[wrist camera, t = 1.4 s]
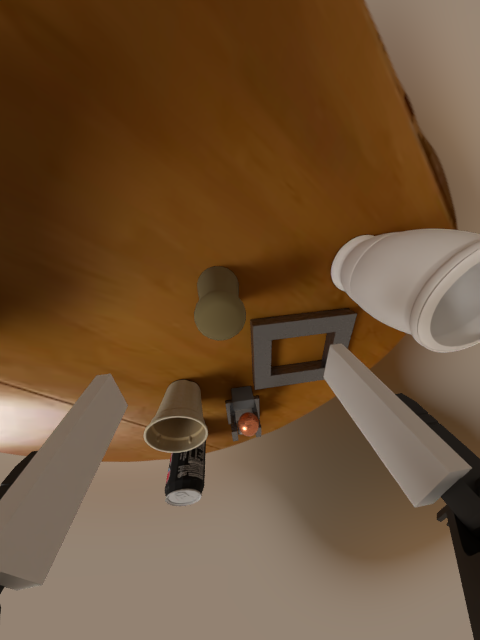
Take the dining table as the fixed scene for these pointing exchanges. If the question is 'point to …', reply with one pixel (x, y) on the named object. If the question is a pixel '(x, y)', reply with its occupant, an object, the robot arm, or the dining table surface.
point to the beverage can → (186, 476)
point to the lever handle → (248, 424)
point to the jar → (417, 283)
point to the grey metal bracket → (235, 415)
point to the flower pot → (178, 420)
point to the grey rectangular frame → (296, 325)
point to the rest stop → (242, 398)
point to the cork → (219, 304)
